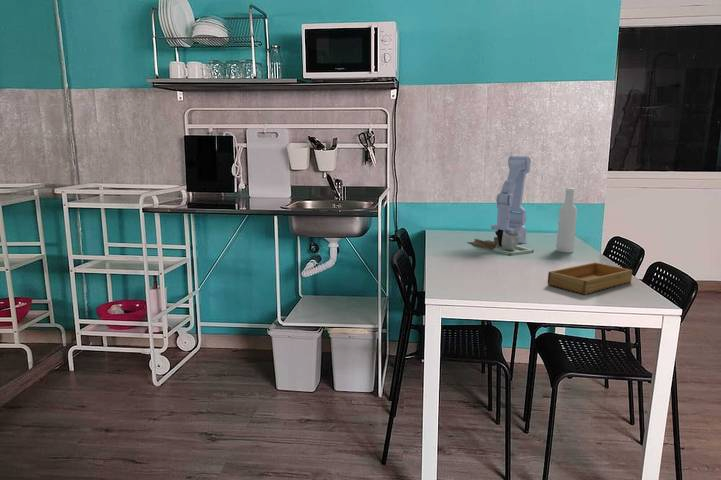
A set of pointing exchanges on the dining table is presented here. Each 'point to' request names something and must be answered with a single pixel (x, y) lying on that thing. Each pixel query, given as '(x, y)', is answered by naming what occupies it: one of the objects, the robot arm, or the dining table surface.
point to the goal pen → (515, 251)
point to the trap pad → (486, 240)
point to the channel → (486, 243)
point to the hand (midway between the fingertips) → (501, 245)
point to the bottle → (567, 224)
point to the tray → (589, 277)
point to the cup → (510, 240)
